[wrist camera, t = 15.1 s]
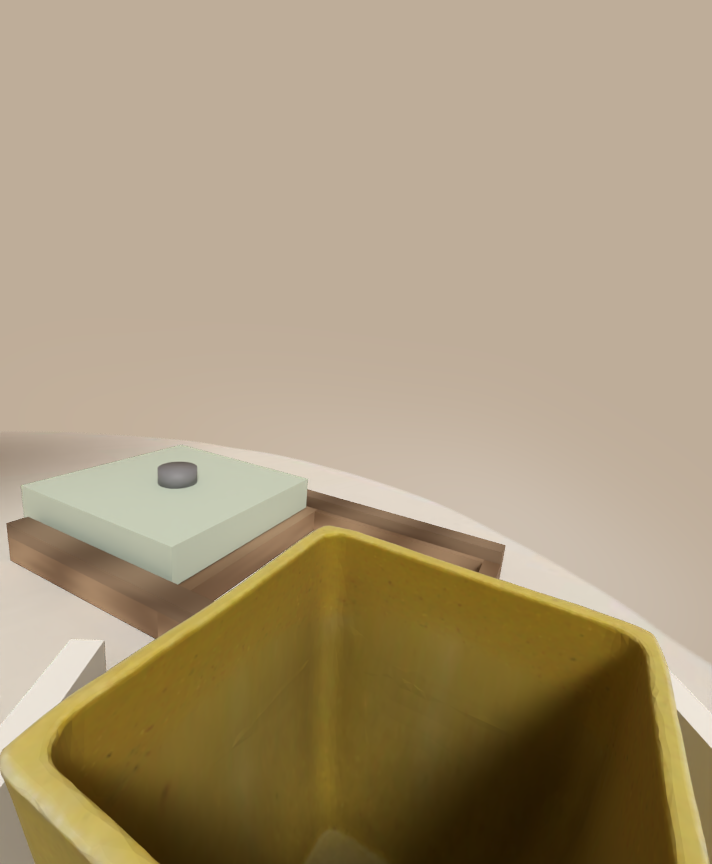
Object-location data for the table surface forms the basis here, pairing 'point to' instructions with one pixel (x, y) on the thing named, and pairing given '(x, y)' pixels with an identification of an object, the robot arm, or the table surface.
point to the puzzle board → (223, 560)
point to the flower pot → (367, 729)
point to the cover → (167, 507)
